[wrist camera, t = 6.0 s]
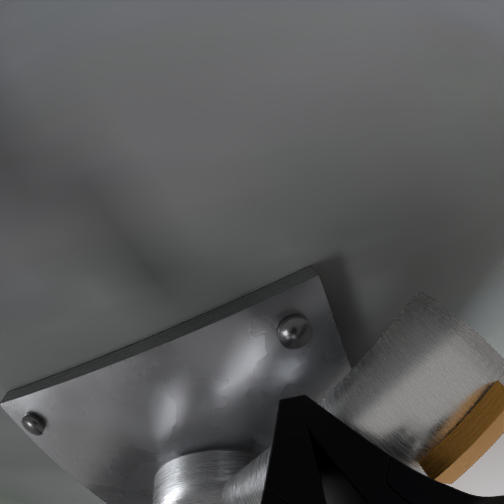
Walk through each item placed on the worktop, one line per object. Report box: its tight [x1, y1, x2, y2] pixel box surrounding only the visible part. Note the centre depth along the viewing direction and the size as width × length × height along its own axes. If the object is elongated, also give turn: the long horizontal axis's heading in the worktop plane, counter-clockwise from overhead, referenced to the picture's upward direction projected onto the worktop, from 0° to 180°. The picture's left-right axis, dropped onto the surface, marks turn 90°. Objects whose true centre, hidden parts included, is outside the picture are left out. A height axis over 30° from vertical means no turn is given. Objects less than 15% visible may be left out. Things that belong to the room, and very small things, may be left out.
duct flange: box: [0, 266, 351, 504], centre depth 13 cm, size 16×18×3 cm
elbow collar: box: [153, 291, 504, 504], centre depth 9 cm, size 16×7×6 cm, turn 142°
